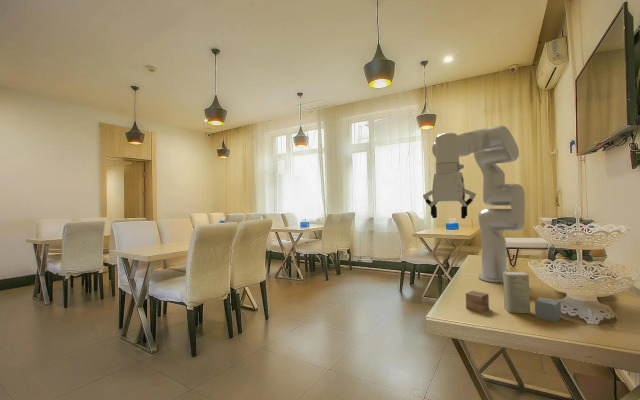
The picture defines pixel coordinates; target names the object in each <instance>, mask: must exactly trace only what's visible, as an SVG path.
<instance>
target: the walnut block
mask: <svg viewBox="0 0 640 400" xmlns="http://www.w3.org/2000/svg"><path fill="white" fill-rule="evenodd" d="M489 299H490V296H489V293H486V292H483V291H482V292H481V291H478V290H477V291H476V290H470V291H469V292H465V308H466V309H468V310H470V311H475V312H479V313H483V312H486V311H487V310H489V309H490V300H489Z"/></svg>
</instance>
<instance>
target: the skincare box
mask: <svg viewBox="0 0 640 400" xmlns="http://www.w3.org/2000/svg"><path fill="white" fill-rule="evenodd" d="M502 284H503V303H504V304H503V305H504V306H503V307H504V309H505V310H506V312H508V313H514V314H515V313H517V314H531V300H530V299H531V297H530V277H529V274H528V273H526V272H524V271H514V272H511V271H509V272H506V271H503V283H502Z"/></svg>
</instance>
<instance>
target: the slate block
mask: <svg viewBox="0 0 640 400" xmlns="http://www.w3.org/2000/svg"><path fill="white" fill-rule="evenodd" d="M561 306H562V305H561V301H560V300H555V299H551V298H547V297H541V296H540V297H538V298H537V299H535V300H534V316H535V318H536V319H542V320H546V321H551V322H554V323H557V322H559V320H561V318H562V309H561V308H562V307H561Z"/></svg>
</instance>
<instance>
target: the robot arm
mask: <svg viewBox="0 0 640 400" xmlns="http://www.w3.org/2000/svg"><path fill="white" fill-rule="evenodd" d="M431 147H432V148H431V151H432V155H433V156H434V157H435V173H434V174H433V175H434V176H433V178H432V189H431V190H429V191H427V192H426V193H424V194H423V195H422V197H423V200H424V201H425V203H426V204H427V205H428V206H429V207H430V216H431V218H432V219H436V218H438V208H437V206H436V205H438V203H439V202H459V203H460V205H461V207H460V210H461V211H460V212H461V216H460V217H461V219H466V218H467V217H468V207H469V205H470V204H471V203H472V202H473V201H474V199H475V197H476V196H477V195H476V192H473V191H472V190H471V191H470V190H468V189H466V188H465V180H464V175H463V172H461V170H463V169H464V168H465V166H464V164H461V163H460V157H466V156H469V155H471V154H473V157H474V160H475V162H476V164H477V166H478V167H479V169H480V171H481V173H482V178H483V181H482V185H483V186H482V199H483V200H482V201H483V203H484V204H485V205H487V206H495V207H496V206H497V207H499V206H500V207H502V206H504V207H507V206H508V207H509V206H510V208H486V209H482V210H481V211H480V212H479V213H478V215H477V219H478V225H479V229H480V235H481V236H480V239H481V242H480V244H481V272H482V273H480V274H478V279H479V280H481V281H484V282H489V283H496V284H498V283H499V284H501V283H502V284H503V271H509V269H508V268H507V266H508V265H507V241H506V238H505V236H504V235H503V234H502V232H501V231H507V232H509V231H510V232H518V231H519V232H520V231H521V230H523V229H524V227H525V225H526V223H525V222H526V221H525V220H526V193H525V189H524V187H523V186H522V185H521V184H520V183H506V177H505V176H506V174H505V172H504V171H503V169H502V168H501V166H499V165H497V164H505V163H506V164H507V163H512V162H515V161H517V160H518V158H519V156H520V151H519V146H518V144H517V142H516V140H515V138H514V136H513V134H512V133H511V131H510V130H509V128H508V127H507V126H505V125H498V126H492V127H487V128H481V129H477V130H476V129H475V130H472V131H468V132H467V131H466V132H464V133H460V134H457V133H454V132H447V133H446V132H445V133H440V134H437V136H436V137H435V140H434V142H433V144H432V146H431ZM466 195H468V196H469V198H468V199H467V200H465V199H466ZM430 196H432V197H431V198H432V200H431V199H430V198H429V197H430Z"/></svg>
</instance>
